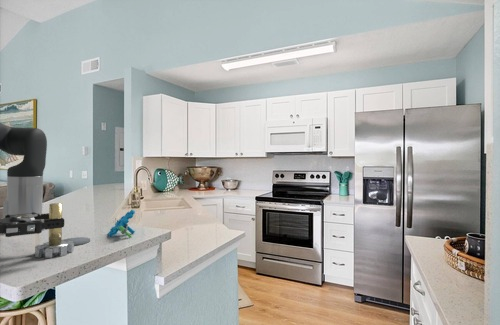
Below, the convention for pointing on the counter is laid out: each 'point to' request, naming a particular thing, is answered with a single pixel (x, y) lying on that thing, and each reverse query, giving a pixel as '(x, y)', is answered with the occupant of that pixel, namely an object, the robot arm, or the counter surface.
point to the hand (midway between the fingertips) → (61, 219)
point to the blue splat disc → (123, 225)
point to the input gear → (54, 238)
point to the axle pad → (78, 240)
